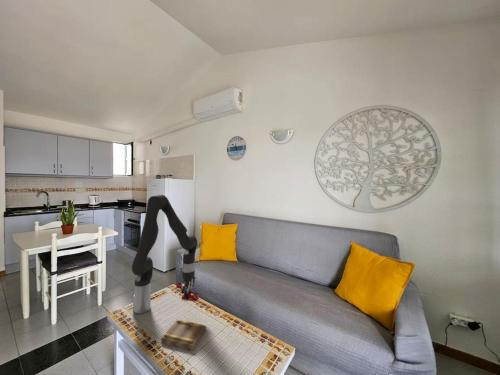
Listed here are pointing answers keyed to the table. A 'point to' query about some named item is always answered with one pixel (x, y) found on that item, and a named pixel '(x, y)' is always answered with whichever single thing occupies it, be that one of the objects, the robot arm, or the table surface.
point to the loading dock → (183, 334)
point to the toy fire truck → (189, 294)
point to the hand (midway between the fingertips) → (187, 296)
